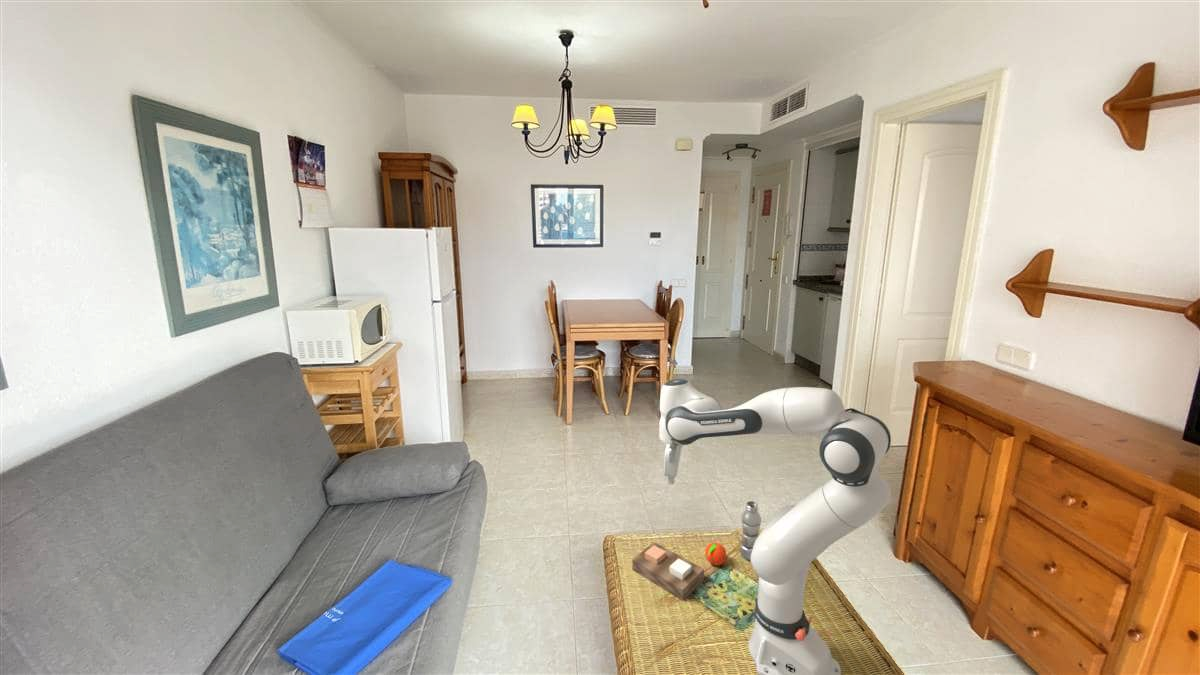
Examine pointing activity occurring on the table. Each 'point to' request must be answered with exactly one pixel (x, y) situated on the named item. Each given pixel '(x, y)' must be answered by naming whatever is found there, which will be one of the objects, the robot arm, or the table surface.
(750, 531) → the plastic bottle
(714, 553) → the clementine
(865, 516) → the robot arm
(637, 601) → the table surface
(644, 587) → the table surface
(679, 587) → the key console
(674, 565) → the key ivory
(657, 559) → the key terracotta
